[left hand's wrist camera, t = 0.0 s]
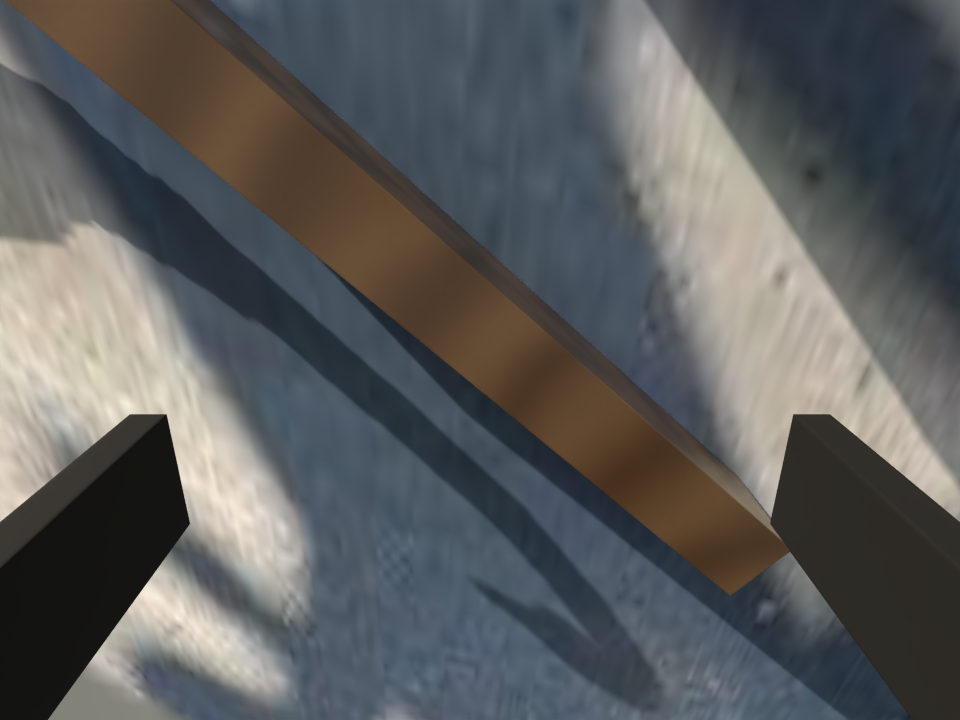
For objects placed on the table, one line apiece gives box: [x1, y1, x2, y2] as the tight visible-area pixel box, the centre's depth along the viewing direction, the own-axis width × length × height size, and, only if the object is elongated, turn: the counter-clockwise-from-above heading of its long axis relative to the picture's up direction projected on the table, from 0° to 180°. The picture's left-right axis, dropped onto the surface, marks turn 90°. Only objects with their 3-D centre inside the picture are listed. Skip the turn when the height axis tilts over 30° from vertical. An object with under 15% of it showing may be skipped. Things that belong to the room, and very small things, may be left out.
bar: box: [5, 0, 790, 595], centre depth 36 cm, size 54×5×8 cm, turn 48°
